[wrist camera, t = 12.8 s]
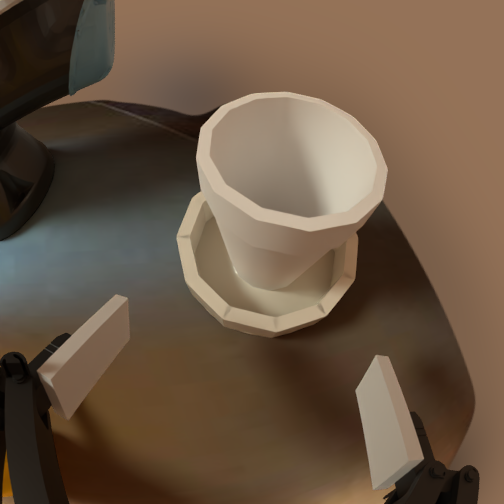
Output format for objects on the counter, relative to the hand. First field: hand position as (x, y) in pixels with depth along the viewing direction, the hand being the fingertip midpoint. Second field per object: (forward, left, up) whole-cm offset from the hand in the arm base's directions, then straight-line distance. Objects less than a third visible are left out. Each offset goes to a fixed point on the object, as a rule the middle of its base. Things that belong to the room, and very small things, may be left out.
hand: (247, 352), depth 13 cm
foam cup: (-8, +5, -8) cm, 12 cm away
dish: (-8, +4, -9) cm, 13 cm away
